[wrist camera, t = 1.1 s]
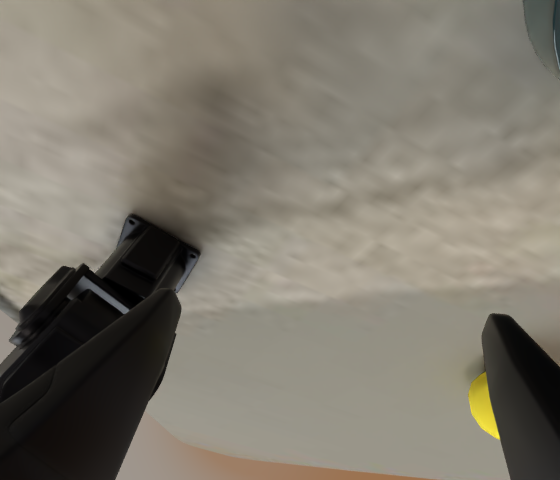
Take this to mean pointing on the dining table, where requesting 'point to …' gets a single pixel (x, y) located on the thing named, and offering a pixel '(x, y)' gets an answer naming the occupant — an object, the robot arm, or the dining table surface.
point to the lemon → (482, 405)
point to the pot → (544, 31)
